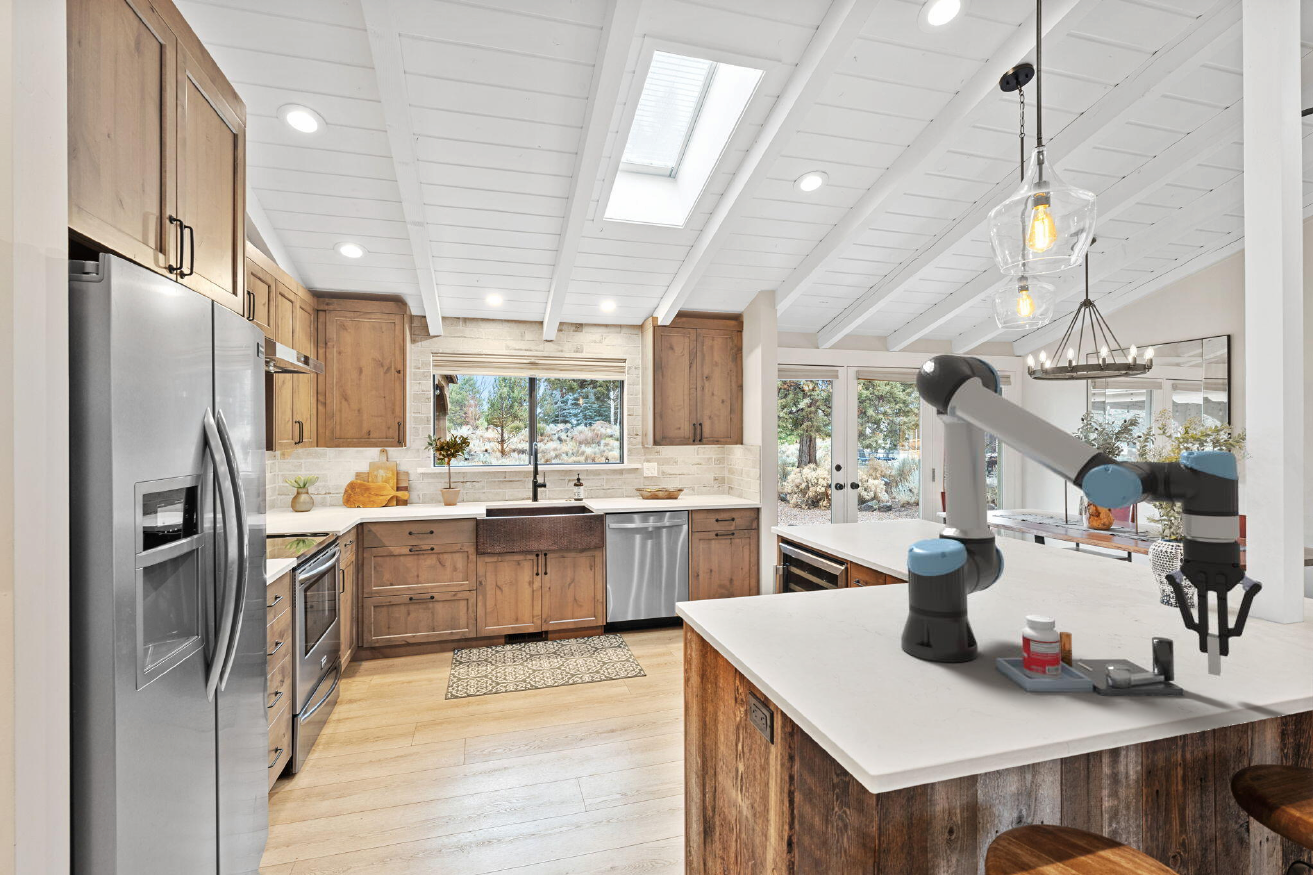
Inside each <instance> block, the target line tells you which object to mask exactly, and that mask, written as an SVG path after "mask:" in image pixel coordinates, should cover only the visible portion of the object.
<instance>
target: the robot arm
mask: <svg viewBox="0 0 1313 875" xmlns="http://www.w3.org/2000/svg"><path fill="white" fill-rule="evenodd" d="M915 384H916V390H917V392H918V395H919V396H920V398H922V400H923V401H925V402H926V403H927V404H928V405H930V406H931V407H934V408H935V409H936V410H935V412H936V417H937V418H938V419H939V420H940V421H941V422H942V423H943V440H944V441H943V442H944V443H943V445H944V447H943V448H944V449H943V450H944V485H945V486H944V488H945V490H944V491H945V494H944V496H945V497H944V498H945V525H944V527H942V528H941V529H940V530H939V532H938V535H939V537H938V538H931V539H923V540H919V541H916V542H914V543H912V544H911V545H910V547H909V548H908V550H907V551H908V552H907V559H906V566H907V583H908V584H907V585H908V587H907V588H908V615H907V619H906V621H905V624H904V626H903V627H904V628H903V630H902V633H901V640H900V641H901V642H900V643H901V645H900V646H901V649H902V650H903V651H904V652H906V653H907V654H909V655H911V656H913V657H916V658H919V659H924V660H927V661H931V662H932V661H933V662H940V663H963V662H964V663H965V662H970V661H972V660H973V661H974V660H975V659H976V658H978V655H979V649H978V647H979V646H978V642H977V639H976V636H975V634H974V631H973V628H972V625H971V622H970V620H969V614H968V613H969V611H968V595H971V594H974V593H976V592H982V591H985V590H987V589H988V588H990V587H992V586H993V585H994V584H996V583H997V582H998V581H999V580H1000V578H1001V577H1002V576H1003V573H1004V569H1005V561H1004V560H1005V558H1004V556H1003V553H1002V551H1001V549H999V548H998V546H997V545H996V534H995V533H994V531H992V530H991V529H990V528H989V527H988V498H987V497H988V495H987V494H988V493H987V490H988V488H987V486H988V485H987V451H986V446H987V445H986V444H987V443H986V433H987V434H988V435H990V436H992V437H993V438H995V439H997V440H998V441H1000V442H1002V443H1003V444H1005V445H1007V446H1008V447H1010V448H1012V449H1013V450H1015V451H1016V452H1017V453H1019V454H1022V455H1023V456H1024V457H1026V458H1028V459H1030V460H1031V461H1033V462H1035V463H1037V464H1038V465H1039V466H1041V467H1042V468H1045V469H1046V470H1048V471H1049V472H1051V473H1053V474H1054V475H1056V476H1058V477H1059V478H1061V479H1063V480H1065V481H1066V482H1068V483H1069V484H1071V485H1073V486H1074V487H1076V488H1077V489H1079V490H1080V491H1082V492H1083V493H1084V496H1085V497H1086V499H1087V500H1088V501H1089V502H1090V503H1091V504H1093V505H1094V506H1097V507H1099V508H1102V509H1110V510H1111V509H1112V510H1117V509H1125V508H1128V507H1130V506H1132V505H1135V504H1136V505H1137V504H1140V503H1145V502H1146V503H1167V504H1168V503H1170V504H1181V524H1182V525H1181V527H1182V528H1181V529H1182V534H1183V535H1184V536H1186V537H1185V538H1183V539H1182V555H1183V556H1182V557H1183V559H1182V560H1183V561H1182V563H1181V564H1180V566H1179V568H1178V570H1175V571H1172V572H1171V571H1169V572H1167V573H1166V574H1165V576H1164V579H1165V580H1166V582H1167V583H1168V585H1170V587H1171V588H1172V589H1173V590H1172V591H1173V594H1174V597H1175V599H1176V603H1177V606H1178V609H1179V611H1180V614H1181V618H1182V621H1183V624H1184V627H1185V628H1186V629H1187V630H1191V631H1193V632H1196V633H1197V634H1198V645H1199V646H1198V648H1199V652H1200V653H1203V654H1207V670H1208V673H1207V674H1209V675H1214V676H1219V677H1220V676H1221V674H1222V662H1221V661H1222V657H1228V656H1229V654H1230V642H1229V639H1230V638H1233V637H1234V638H1235V637H1237V638H1238V637H1240V638H1241V637H1242V635H1243V632H1244V629H1245V626H1246V623H1247V619H1248V616H1249V614H1250V610H1251V607H1252V604H1253V600H1254V597H1256V595H1257V594H1259V593H1260V592H1261V590H1262V588H1263V583H1262V582H1261V581H1256V580H1254V579H1252V578H1251V577H1248V576H1247V575H1246V572H1245V570H1244V569H1243V568H1242V563H1241V561H1242V560H1241V543H1240V542H1239V541H1238V540H1237V539H1239V538H1240V537H1241V534H1240V533H1241V532H1240V509H1239V508H1240V506H1239V500H1240V499H1239V496H1240V495H1239V478H1240V476H1239V474H1238V468H1237V467H1238V466H1237V457H1236V456H1235V455H1234V453H1233V452H1230V451H1226V450H1187V451H1182V452H1181V453H1180V456H1179V459H1178V461H1169V462H1168V461H1167V462H1165V461H1129V460H1117V459H1116V458H1113V457H1112V456H1109V455H1107V454H1106V453H1105V452H1102V451H1101V450H1100V449H1097V448H1095V447H1094V446H1092V445H1090V444H1089V443H1086V442H1085V441H1083V440H1081V439H1079V438H1077V436H1076V437H1075V436H1074V435H1072V434H1070V433H1068V432H1067V431H1064V430H1063V429H1061V428H1059V427H1057V426H1056V425H1054V424H1052V423H1050V422H1049V421H1047V420H1046V419H1043V418H1041V417H1040V416H1038V415H1036V414H1034V413H1033V412H1030V411H1029V410H1027V409H1025V408H1024V407H1022V406H1020V405H1018V404H1016V403H1015V402H1012V401H1011V400H1008V399H1007V398H1005V397H1003V396H1002V395H1000V393H999V392H1000V389H1001V379H1000V375H999V373H998V371H997V370H996V368H995V367H994V366H993V365H992V364H991V363H989V362H987V361H986V360H983V359H981V358H979V357H974V356H963V355H955V354H939V355H935V356H933V357H931V358H929V359H928V360H926V361H925V362H924V363H923V364H922V365H921V367H920V368H919V370H918V372H917V375H916V379H915ZM1183 576H1184V577H1185V578H1186V580H1187V581H1188V582H1189V583H1190V584H1191V585H1192V586H1193V587H1194V588H1195V589H1196V594H1197V595H1196V596H1197V621H1198V622H1197V621H1195V618H1194V615H1193V612H1192V609H1191V606H1190V604H1189V601H1188V598H1187V594H1186V591H1185V587H1184V586H1183V582H1184V577H1183ZM1240 583H1242V585H1241V587H1242V590H1243V591H1244V594H1243V597H1242V599H1241V602H1240V606H1239V609H1238V613H1237V615H1236V619H1235V622H1234V624H1233V625H1234V626H1233V627H1229V607H1228V606H1229V604H1228V603H1229V602H1228V601H1229V600H1228V593H1229V592H1231V591H1232V590H1233V589H1234V588H1235V587H1236V586H1238V584H1240ZM1209 592H1214V593H1216V603H1217V604H1216V605H1217V607H1216V609H1217V633H1212V632H1211V633H1210V631H1209V630H1210V626H1209V624H1210V623H1209V622H1210V621H1209V620H1210V619H1209Z"/></svg>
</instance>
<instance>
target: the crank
mask: <svg viewBox="0 0 1313 875" xmlns="http://www.w3.org/2000/svg"><path fill="white" fill-rule="evenodd" d="M1151 642H1152V643H1151V646H1152V647H1151V648H1152V655H1151V656H1152V671H1150V672H1147V673H1139V674H1131V670H1130V668H1129V667H1127V666H1125V665H1121V664H1114V663H1109V664H1106V683H1108V684H1109V685H1112V686H1116V687H1121V688H1128V687H1131V685H1134V684H1142V683H1150V682H1158V681H1169V682H1173V681H1175V661H1174V660H1175V659H1174V654H1175V653H1174V641H1173V639H1170V638H1167V637H1159V636H1153V637H1151Z"/></svg>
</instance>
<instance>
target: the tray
mask: <svg viewBox="0 0 1313 875" xmlns="http://www.w3.org/2000/svg"><path fill="white" fill-rule="evenodd" d="M995 667H996V669H997V670H999V671H1000V672H1001V673H1002V674H1004V676H1006V677H1007V678H1009V679H1010V680H1011V681H1013V682H1014V683H1016V684H1017V686H1020V688H1022V689H1023V690H1024V691H1026V692H1028V693H1029V692H1031V693H1032V692H1033V693H1035V692H1039V693H1040V692H1044V693H1045V692H1046V693H1047V692H1048V693H1049V692H1052V693H1053V692H1073V693H1074V692H1075V693H1076V692H1077V693H1078V692H1085V693H1086V692H1089V693H1090V692H1094V691H1093V680H1091V679H1090V678H1088V677H1086V676H1085V675H1083V674H1081V673H1080V672H1078V671H1076V670H1075V669H1073V668H1071V667H1070V666H1068V665H1067V664H1065V663H1063V662H1062V661H1061V678H1060V679H1033V678H1030V677H1028V676H1027V675H1025V673H1024V671H1023V657H996V658H995Z"/></svg>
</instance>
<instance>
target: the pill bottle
mask: <svg viewBox="0 0 1313 875" xmlns="http://www.w3.org/2000/svg"><path fill="white" fill-rule="evenodd" d="M1025 623H1026V624H1025V625H1027V626H1025V627H1024V628H1023V629H1022V633H1021V634H1022V635H1021V636H1022V637H1021V639H1022V642H1021V643H1022V658H1023V671H1024V673H1025V675H1027V676H1028V677H1030V678H1033V679H1060V678H1061V655H1060V635H1059V632H1058V631H1057V630H1055V628H1056V619H1055V618H1053V617H1051V616H1048V615H1042V614H1029V615H1026V617H1025Z"/></svg>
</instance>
